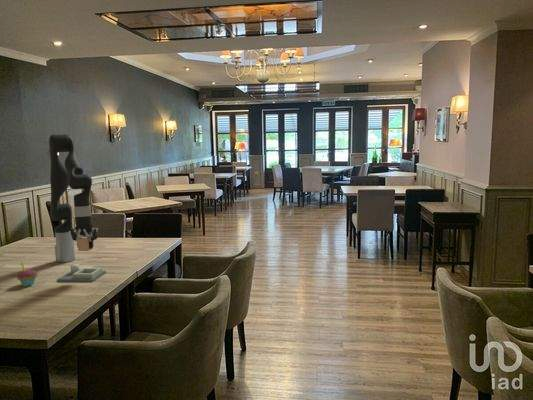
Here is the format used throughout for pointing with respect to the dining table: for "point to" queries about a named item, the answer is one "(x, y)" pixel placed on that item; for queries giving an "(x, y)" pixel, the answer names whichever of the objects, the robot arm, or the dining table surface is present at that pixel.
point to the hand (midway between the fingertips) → (85, 248)
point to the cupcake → (27, 276)
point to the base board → (81, 274)
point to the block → (83, 244)
